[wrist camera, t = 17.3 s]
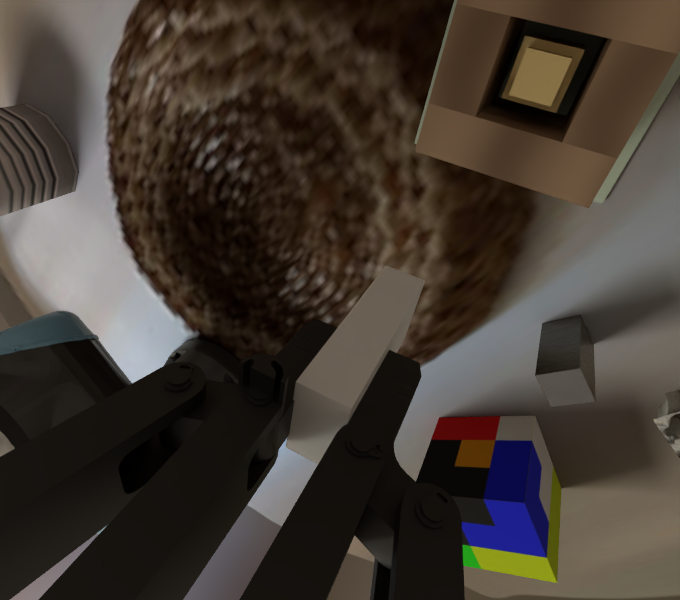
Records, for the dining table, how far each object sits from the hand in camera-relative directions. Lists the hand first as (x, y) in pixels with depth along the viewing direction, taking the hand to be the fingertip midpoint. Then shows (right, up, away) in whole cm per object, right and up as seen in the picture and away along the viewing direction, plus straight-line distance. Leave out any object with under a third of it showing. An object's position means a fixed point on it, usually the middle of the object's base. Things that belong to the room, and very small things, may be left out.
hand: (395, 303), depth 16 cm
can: (-39, +19, +38) cm, 58 cm away
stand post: (+17, -3, +20) cm, 26 cm away
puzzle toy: (+15, -16, +30) cm, 37 cm away
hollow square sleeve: (+11, +15, +11) cm, 22 cm away
